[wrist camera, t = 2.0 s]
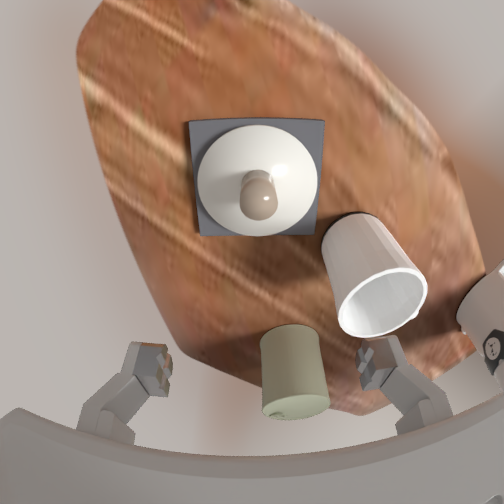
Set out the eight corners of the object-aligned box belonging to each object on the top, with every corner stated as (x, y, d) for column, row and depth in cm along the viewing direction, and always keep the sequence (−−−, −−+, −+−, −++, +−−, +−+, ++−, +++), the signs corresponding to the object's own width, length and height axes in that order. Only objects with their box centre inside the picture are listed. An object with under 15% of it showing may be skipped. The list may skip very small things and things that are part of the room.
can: (247, 339, 41) (247, 411, 31) (300, 314, 38) (311, 392, 28) (280, 363, 45) (285, 427, 36) (328, 343, 42) (341, 409, 32)
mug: (301, 254, 32) (317, 324, 23) (348, 193, 27) (387, 251, 19) (366, 286, 35) (392, 348, 26) (410, 237, 30) (451, 294, 22)
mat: (322, 119, 23) (324, 121, 22) (312, 230, 30) (314, 234, 29) (190, 120, 23) (188, 121, 22) (201, 232, 30) (200, 236, 29)
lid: (318, 125, 23) (334, 137, 18) (310, 230, 29) (319, 259, 25) (194, 126, 23) (181, 138, 18) (204, 232, 29) (197, 261, 25)
